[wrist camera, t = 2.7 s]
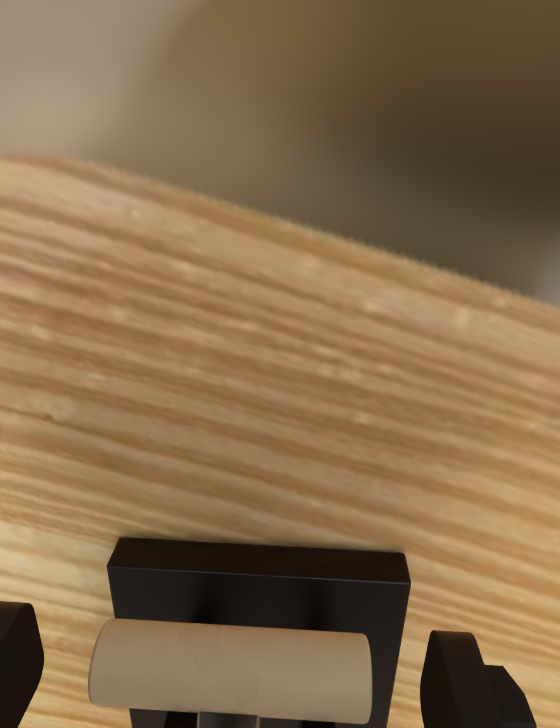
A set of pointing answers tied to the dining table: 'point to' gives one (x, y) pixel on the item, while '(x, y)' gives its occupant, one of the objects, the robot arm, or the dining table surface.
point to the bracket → (266, 602)
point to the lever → (232, 672)
